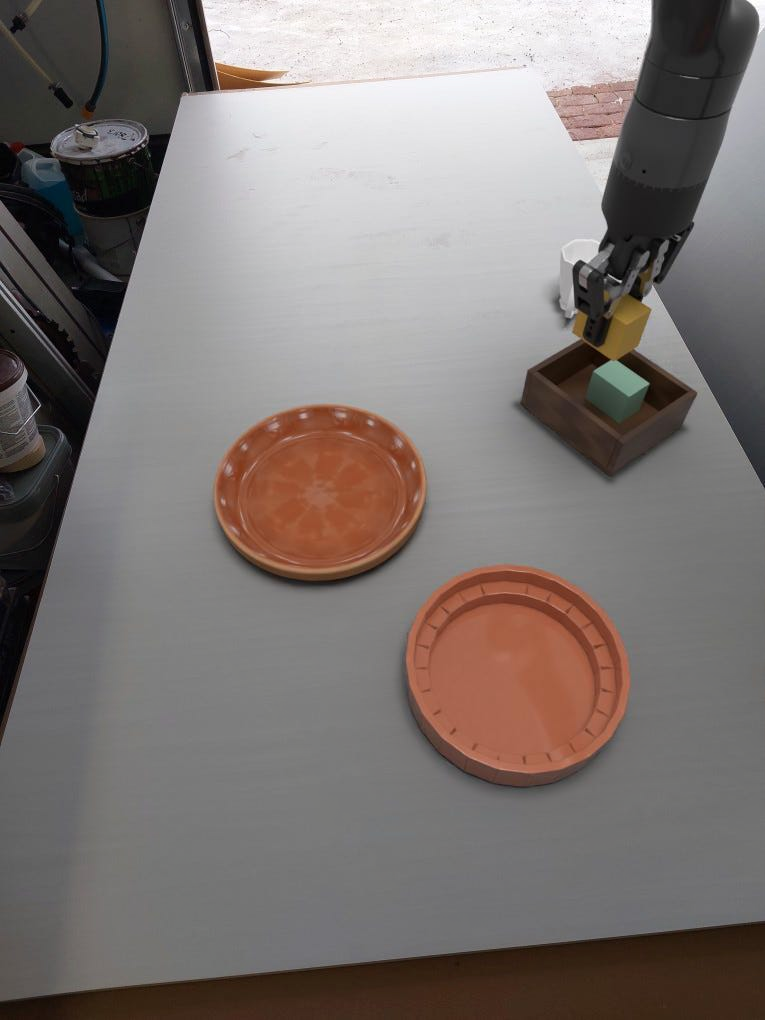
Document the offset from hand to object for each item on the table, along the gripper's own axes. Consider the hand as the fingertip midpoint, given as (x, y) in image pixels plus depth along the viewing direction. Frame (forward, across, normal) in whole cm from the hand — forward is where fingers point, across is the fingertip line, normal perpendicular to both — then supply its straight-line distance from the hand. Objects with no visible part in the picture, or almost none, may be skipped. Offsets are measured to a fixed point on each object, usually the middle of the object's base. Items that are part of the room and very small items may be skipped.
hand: (607, 332), depth 68 cm
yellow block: (+1, 0, 0) cm, 1 cm away
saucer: (+17, -28, +12) cm, 34 cm away
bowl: (+16, -26, -16) cm, 35 cm away
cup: (+17, +18, +17) cm, 30 cm away
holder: (+16, +6, +1) cm, 18 cm away
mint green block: (+16, +8, +1) cm, 18 cm away
